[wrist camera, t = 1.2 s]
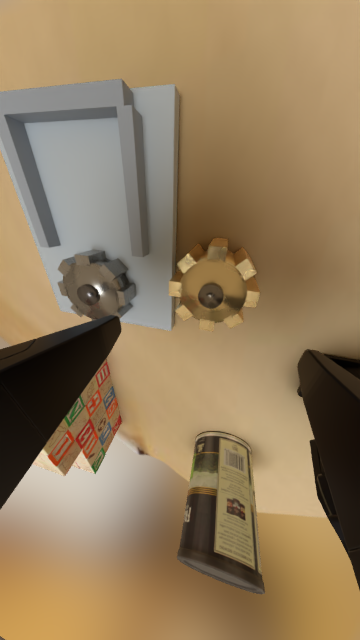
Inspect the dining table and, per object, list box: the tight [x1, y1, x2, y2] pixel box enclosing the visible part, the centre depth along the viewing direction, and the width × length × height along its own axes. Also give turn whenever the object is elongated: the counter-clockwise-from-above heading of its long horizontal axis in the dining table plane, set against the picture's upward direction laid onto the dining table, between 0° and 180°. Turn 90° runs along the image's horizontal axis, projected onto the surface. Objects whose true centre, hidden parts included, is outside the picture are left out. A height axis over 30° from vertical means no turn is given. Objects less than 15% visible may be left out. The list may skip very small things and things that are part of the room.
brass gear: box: [169, 238, 260, 331], centre depth 15 cm, size 7×7×5 cm
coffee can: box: [177, 432, 265, 594], centre depth 27 cm, size 10×10×14 cm
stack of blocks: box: [33, 360, 122, 476], centre depth 27 cm, size 21×6×12 cm, turn 178°
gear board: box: [0, 79, 180, 331], centre depth 16 cm, size 15×18×3 cm
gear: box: [57, 250, 137, 321], centre depth 18 cm, size 7×7×3 cm
